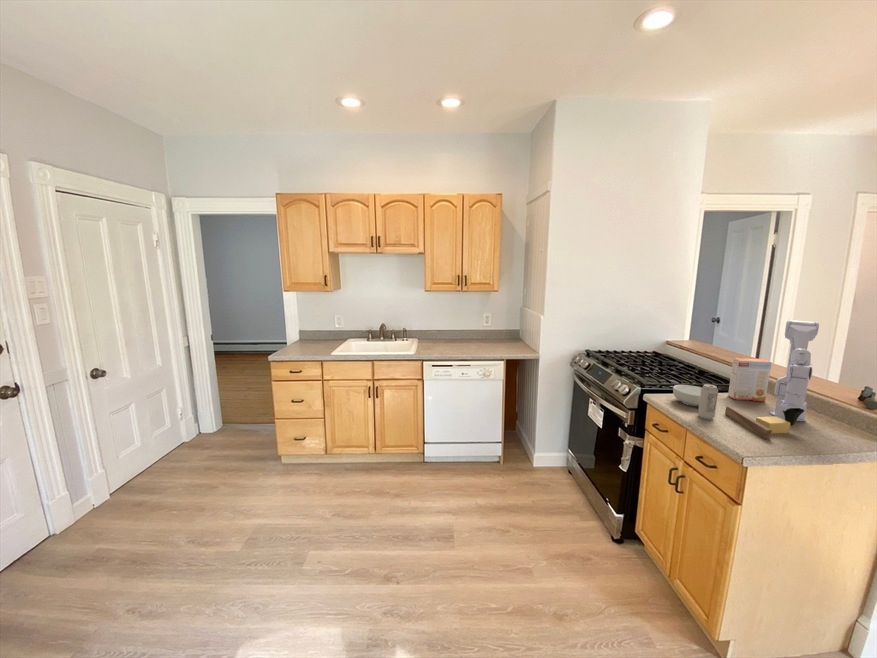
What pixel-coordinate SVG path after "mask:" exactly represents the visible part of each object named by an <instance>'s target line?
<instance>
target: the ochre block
mask: <svg viewBox="0 0 877 658" xmlns="http://www.w3.org/2000/svg"><path fill="white" fill-rule="evenodd" d="M755 421H757V422H759V423H760V424H762V425H764V426H765V427H767V428H769V429H771V430H772V432H771V433H772V434H789V433H788V432H790V428H791V425H790V422H788V421H785V420H783V419H781V418H778V417H776V416H756V418H755Z"/></svg>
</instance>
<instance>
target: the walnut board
mask: <svg viewBox="0 0 877 658" xmlns="http://www.w3.org/2000/svg"><path fill="white" fill-rule="evenodd" d="M725 414H726V416H728V417H729V418H730V417H731V418H730V419H732V420H733V419H734V420H733V421H735V422H736V421H737V423H738V422H739V423H738V424H740V425H741V426H743V427H744V426H745V427H744V428H746V429H747V428H748V429H747V430H749V431H751V432H752V433H753V434H756V435H757V436H758V435H759V437H760V436H761V437H760V438H762V439H763V438H764V440H768V439H770V440H771V436H772V434H771V432H772V430H771V429H769V428H767V427H765V426H764V425H762V424H760V423H759V422H757V421H756V419H753V418H751V416H748V415H747V414H745V413H743V412H741V411H740V410H738V409H736V408H735V407H733V406H731V405H730V406H729V405H726V406H725V411H724V415H725Z"/></svg>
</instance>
